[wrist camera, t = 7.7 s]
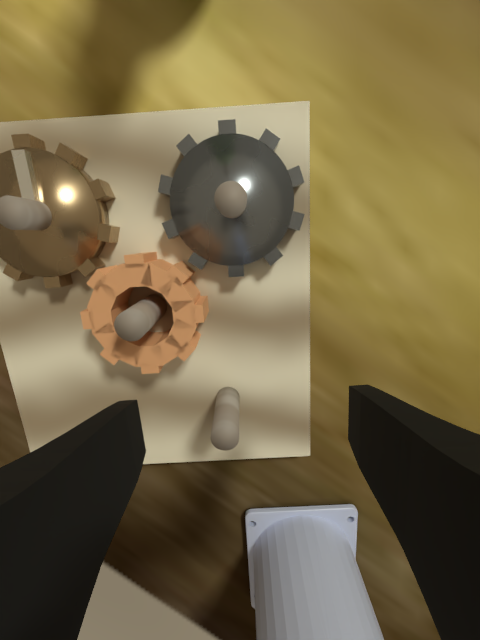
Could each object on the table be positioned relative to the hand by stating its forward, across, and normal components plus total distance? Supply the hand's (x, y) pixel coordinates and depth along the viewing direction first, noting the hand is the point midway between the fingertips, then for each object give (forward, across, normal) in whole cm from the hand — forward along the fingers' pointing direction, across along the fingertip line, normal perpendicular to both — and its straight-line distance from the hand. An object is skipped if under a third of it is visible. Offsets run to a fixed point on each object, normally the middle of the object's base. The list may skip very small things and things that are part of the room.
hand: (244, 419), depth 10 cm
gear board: (+9, +5, -2) cm, 11 cm away
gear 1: (+8, +10, -8) cm, 15 cm away
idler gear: (+8, +5, -3) cm, 10 cm away
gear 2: (+8, 0, -8) cm, 11 cm away
